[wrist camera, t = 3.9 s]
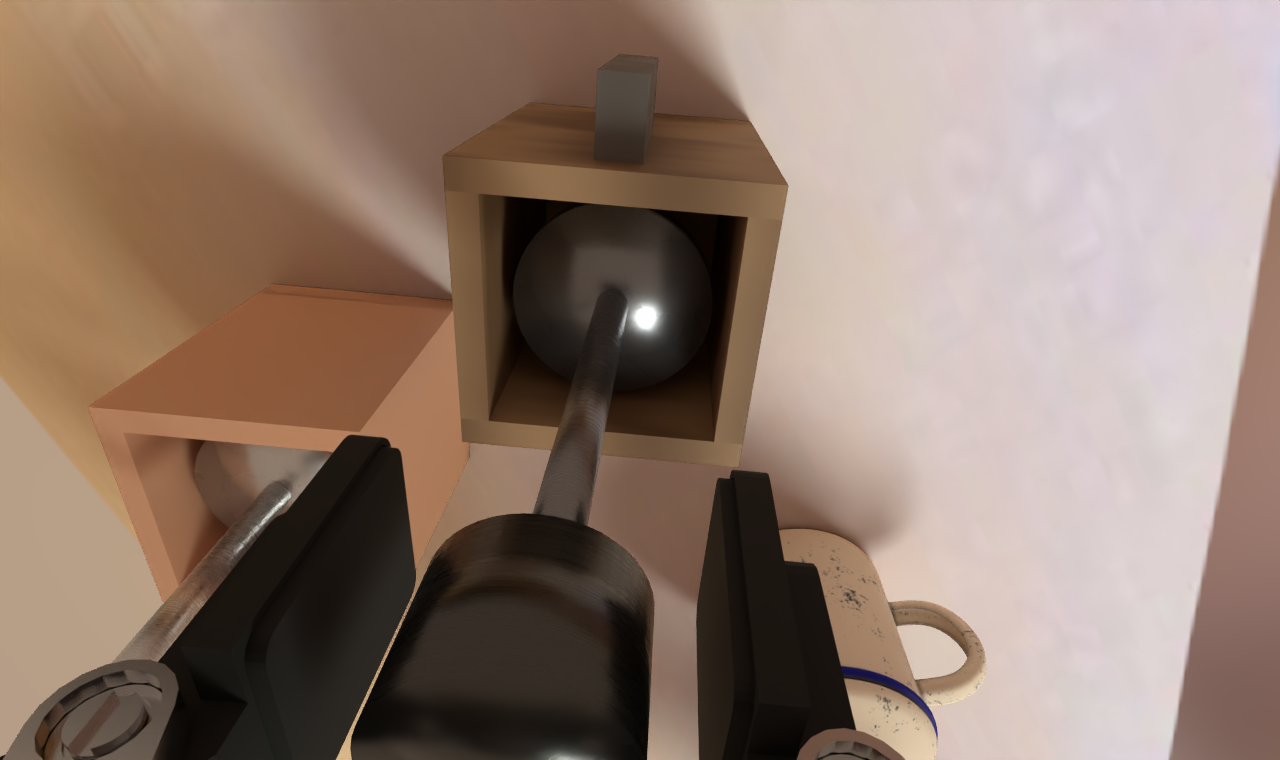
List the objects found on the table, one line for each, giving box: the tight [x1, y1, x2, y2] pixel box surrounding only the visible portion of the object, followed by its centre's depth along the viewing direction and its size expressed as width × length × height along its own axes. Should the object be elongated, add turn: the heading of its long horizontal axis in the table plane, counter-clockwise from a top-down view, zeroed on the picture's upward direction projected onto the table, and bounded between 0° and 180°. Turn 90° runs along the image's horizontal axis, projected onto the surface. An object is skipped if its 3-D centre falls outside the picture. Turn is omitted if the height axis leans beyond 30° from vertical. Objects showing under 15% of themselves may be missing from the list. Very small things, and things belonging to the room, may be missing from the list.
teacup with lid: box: [779, 529, 986, 760], centre depth 30 cm, size 12×9×12 cm
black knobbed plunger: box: [112, 440, 333, 663], centre depth 17 cm, size 6×6×14 cm
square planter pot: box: [88, 284, 470, 602], centre depth 26 cm, size 8×10×10 cm
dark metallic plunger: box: [351, 202, 713, 760], centre depth 13 cm, size 6×6×14 cm
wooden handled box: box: [443, 54, 788, 467], centre depth 21 cm, size 8×10×10 cm
